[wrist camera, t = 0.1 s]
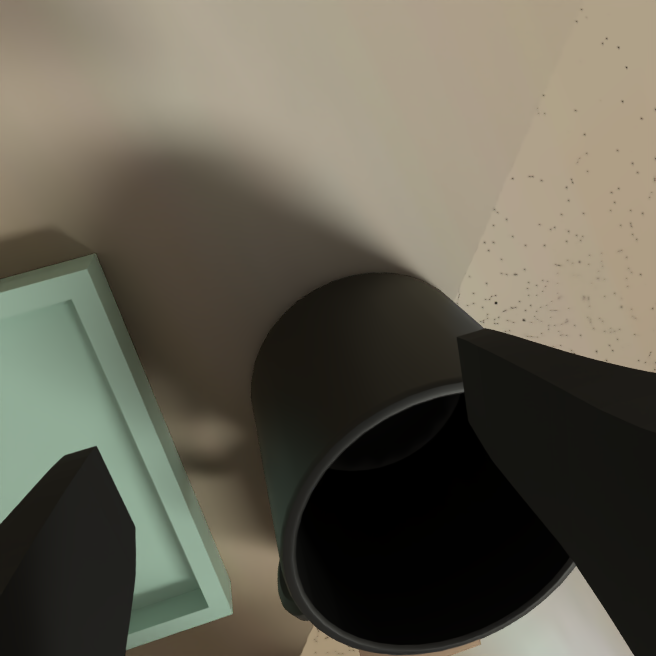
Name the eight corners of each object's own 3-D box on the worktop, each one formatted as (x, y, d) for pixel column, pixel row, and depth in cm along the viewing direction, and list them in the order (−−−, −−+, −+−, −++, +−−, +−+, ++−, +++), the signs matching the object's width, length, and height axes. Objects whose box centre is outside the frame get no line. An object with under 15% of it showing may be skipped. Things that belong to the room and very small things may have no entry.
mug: (170, 467, 24) (158, 670, 16) (341, 221, 21) (431, 311, 13) (351, 544, 28) (418, 741, 19) (515, 341, 25) (671, 470, 17)
